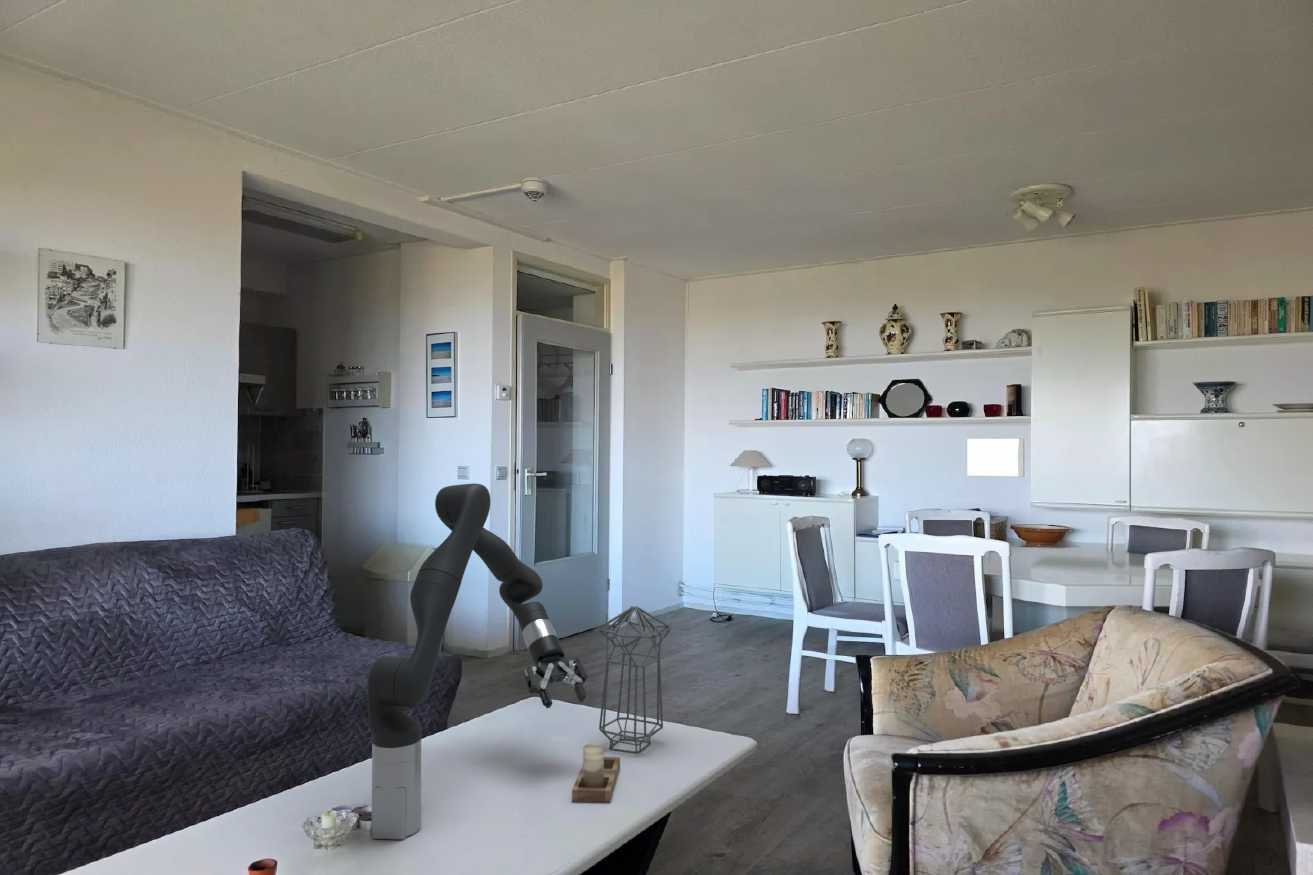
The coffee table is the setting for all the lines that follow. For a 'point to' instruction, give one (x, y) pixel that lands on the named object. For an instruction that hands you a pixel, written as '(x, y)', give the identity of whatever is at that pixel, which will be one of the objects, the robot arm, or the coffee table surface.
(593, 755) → the banded peg
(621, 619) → the geometric lantern
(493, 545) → the robot arm
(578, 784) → the socket block
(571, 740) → the coffee table surface
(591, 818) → the coffee table surface
